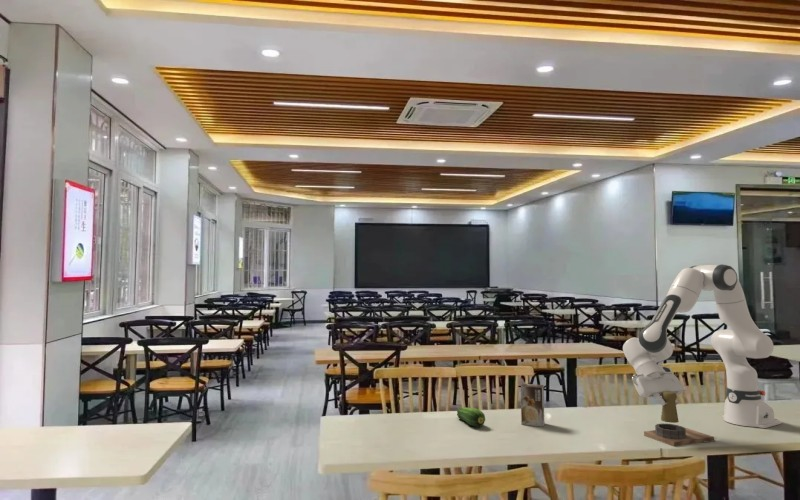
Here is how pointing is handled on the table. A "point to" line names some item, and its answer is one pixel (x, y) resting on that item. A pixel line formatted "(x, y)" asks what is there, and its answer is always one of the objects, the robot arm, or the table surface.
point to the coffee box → (532, 405)
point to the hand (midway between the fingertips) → (670, 404)
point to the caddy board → (687, 440)
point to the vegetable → (471, 416)
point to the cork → (669, 407)
